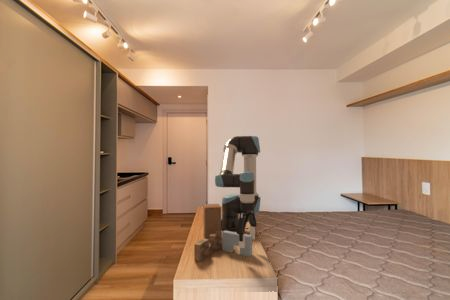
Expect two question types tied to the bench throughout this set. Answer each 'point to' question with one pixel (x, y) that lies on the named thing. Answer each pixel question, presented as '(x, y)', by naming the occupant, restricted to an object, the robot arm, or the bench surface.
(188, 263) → the bench surface
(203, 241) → the slotted beam
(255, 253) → the bench surface
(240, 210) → the robot arm
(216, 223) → the wooden block
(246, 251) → the notched plate
